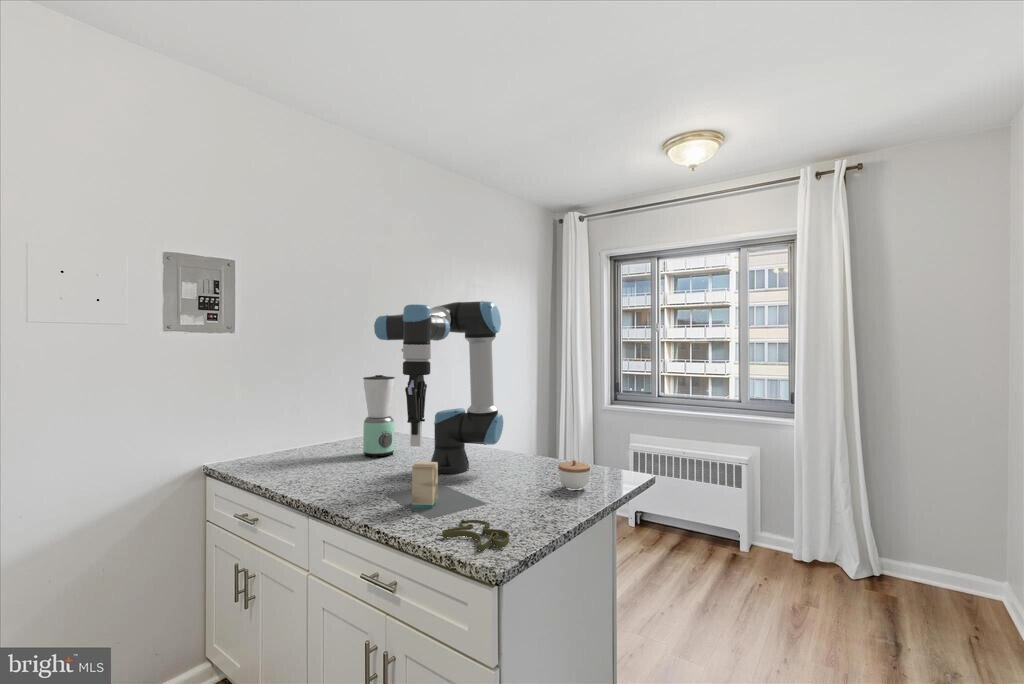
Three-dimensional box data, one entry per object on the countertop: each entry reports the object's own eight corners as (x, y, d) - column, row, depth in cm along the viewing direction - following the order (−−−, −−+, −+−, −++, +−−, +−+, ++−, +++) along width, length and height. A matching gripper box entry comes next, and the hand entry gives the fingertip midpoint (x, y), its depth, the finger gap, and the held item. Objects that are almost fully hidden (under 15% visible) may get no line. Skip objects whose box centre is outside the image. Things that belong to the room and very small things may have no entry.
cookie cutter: (436, 537, 122) (436, 529, 122) (469, 523, 131) (469, 516, 132) (488, 556, 111) (488, 548, 111) (520, 540, 120) (520, 532, 120)
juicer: (402, 455, 210) (402, 375, 211) (374, 460, 201) (374, 376, 201) (380, 449, 224) (380, 373, 224) (353, 453, 215) (353, 374, 215)
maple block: (418, 501, 146) (418, 461, 146) (437, 502, 145) (437, 462, 145) (412, 507, 140) (412, 466, 140) (432, 508, 139) (432, 467, 139)
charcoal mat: (439, 486, 165) (439, 483, 165) (488, 507, 144) (488, 503, 144) (384, 497, 152) (384, 494, 152) (429, 522, 131) (429, 519, 131)
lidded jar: (593, 486, 166) (593, 458, 166) (585, 494, 156) (585, 465, 156) (564, 482, 170) (564, 455, 170) (553, 490, 160) (553, 462, 160)
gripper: (410, 360, 141) (409, 441, 140) (395, 360, 128) (394, 450, 127) (435, 360, 140) (435, 441, 140) (423, 361, 127) (422, 451, 127)
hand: (416, 445), depth 133 cm, fingers closed
